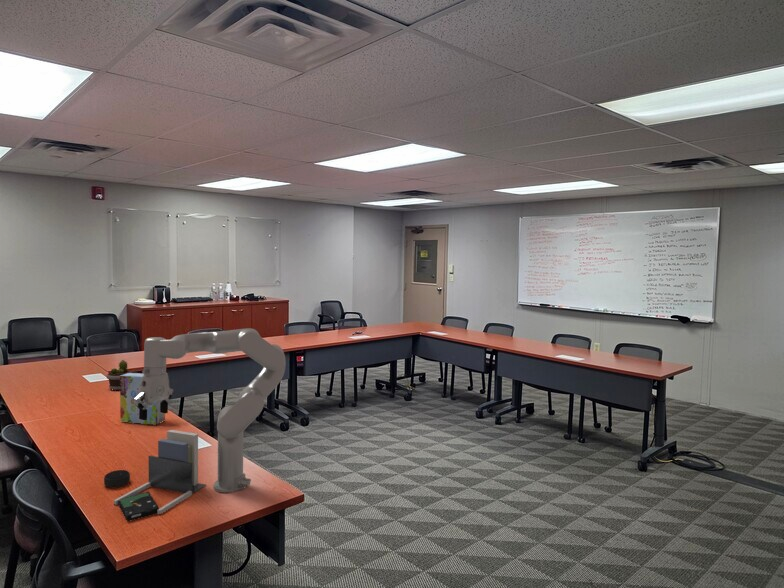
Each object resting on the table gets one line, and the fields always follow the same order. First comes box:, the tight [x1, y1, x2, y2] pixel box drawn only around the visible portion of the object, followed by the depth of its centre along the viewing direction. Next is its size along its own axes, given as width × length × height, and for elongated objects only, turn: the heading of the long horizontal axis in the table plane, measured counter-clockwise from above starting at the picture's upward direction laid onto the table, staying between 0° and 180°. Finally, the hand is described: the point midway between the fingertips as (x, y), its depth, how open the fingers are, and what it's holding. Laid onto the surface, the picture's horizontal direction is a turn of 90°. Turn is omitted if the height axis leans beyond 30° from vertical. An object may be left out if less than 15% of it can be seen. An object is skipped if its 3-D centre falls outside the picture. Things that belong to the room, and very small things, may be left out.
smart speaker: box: [103, 469, 131, 489], centre depth 198 cm, size 9×9×4 cm
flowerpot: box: [106, 358, 132, 391], centre depth 335 cm, size 14×15×20 cm
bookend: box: [148, 455, 207, 495], centre depth 197 cm, size 20×8×12 cm, turn 72°
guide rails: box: [113, 481, 193, 515], centre depth 186 cm, size 21×16×2 cm
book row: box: [157, 429, 199, 486], centre depth 197 cm, size 13×7×20 cm, turn 72°
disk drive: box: [117, 491, 160, 522], centre depth 179 cm, size 10×3×15 cm
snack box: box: [119, 372, 166, 426], centre depth 271 cm, size 22×9×26 cm, turn 80°
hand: (153, 416), depth 189 cm, fingers open, 9 cm apart
